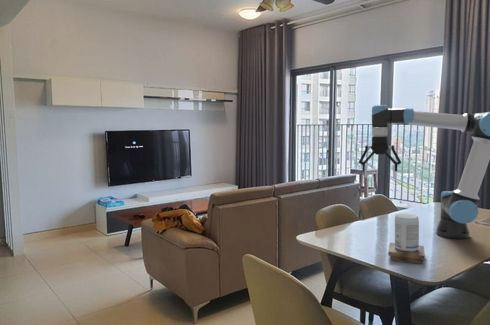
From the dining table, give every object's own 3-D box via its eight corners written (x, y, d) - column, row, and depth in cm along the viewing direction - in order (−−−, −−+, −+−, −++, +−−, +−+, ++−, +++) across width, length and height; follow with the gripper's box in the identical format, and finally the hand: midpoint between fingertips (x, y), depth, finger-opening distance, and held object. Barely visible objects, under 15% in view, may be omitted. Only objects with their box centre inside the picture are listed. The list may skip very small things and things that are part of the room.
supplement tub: (419, 247, 162) (420, 214, 161) (417, 253, 154) (417, 219, 153) (396, 244, 167) (397, 212, 166) (392, 250, 159) (393, 216, 158)
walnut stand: (423, 254, 165) (423, 245, 164) (424, 265, 152) (424, 255, 151) (389, 250, 170) (389, 242, 170) (388, 261, 157) (388, 251, 157)
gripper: (353, 136, 188) (353, 178, 190) (406, 135, 178) (406, 179, 180) (355, 136, 195) (355, 176, 197) (406, 135, 185) (406, 177, 187)
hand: (379, 177), depth 188 cm, fingers open, 13 cm apart
